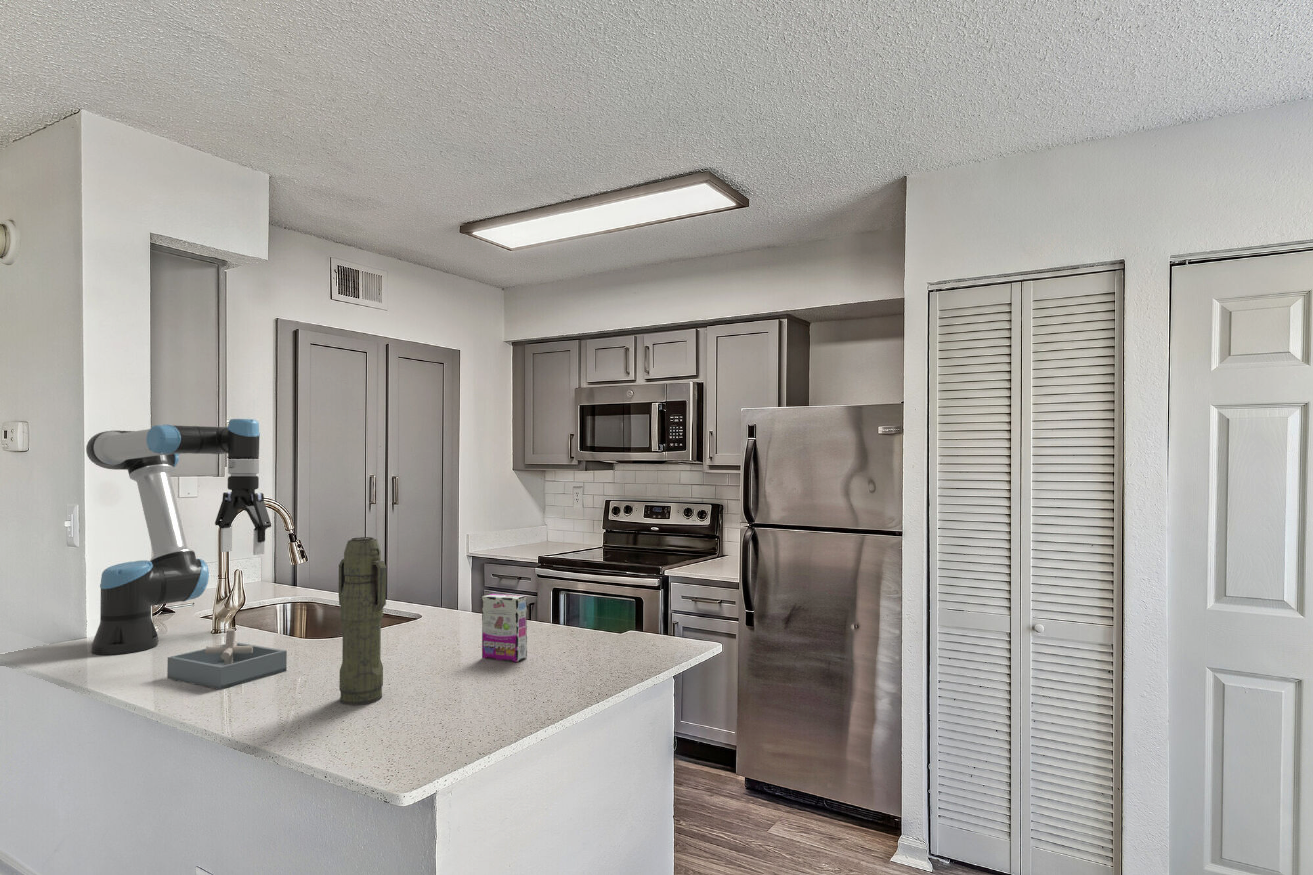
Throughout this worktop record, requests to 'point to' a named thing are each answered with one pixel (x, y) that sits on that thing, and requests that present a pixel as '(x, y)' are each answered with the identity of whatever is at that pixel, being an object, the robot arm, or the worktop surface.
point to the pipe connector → (229, 648)
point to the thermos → (361, 621)
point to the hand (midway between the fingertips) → (242, 553)
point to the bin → (226, 667)
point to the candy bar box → (504, 627)
